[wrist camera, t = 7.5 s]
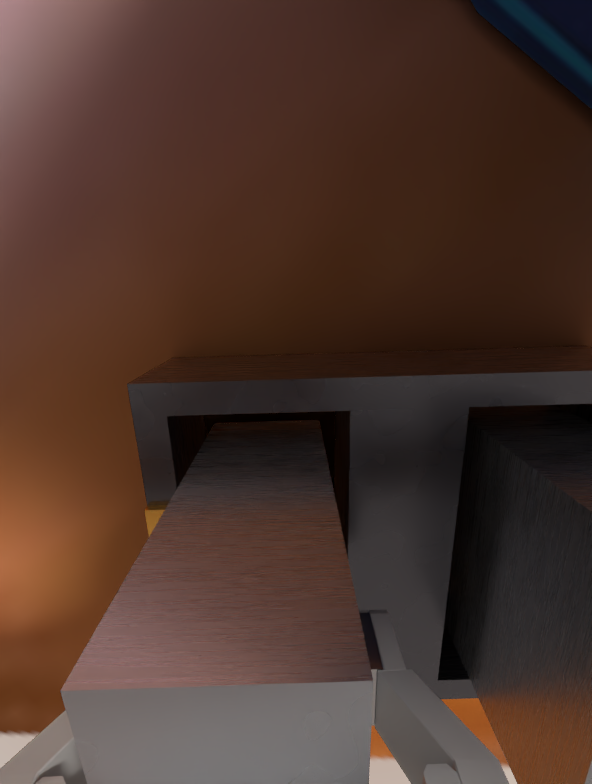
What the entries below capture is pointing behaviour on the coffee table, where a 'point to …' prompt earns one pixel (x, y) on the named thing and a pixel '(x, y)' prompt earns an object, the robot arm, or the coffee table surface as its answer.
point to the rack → (438, 513)
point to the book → (549, 36)
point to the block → (233, 630)
